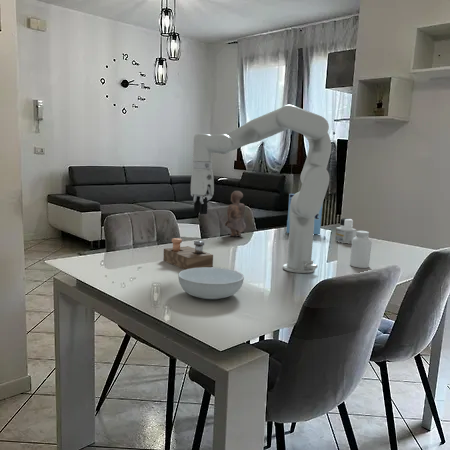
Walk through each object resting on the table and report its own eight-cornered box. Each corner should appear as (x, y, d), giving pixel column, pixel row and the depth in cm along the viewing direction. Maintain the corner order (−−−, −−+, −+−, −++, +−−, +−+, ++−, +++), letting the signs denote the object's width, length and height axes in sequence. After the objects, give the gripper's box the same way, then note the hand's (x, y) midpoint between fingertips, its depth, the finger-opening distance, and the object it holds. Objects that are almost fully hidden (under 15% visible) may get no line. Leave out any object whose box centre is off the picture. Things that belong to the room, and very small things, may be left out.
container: (334, 241, 255) (336, 217, 253) (345, 240, 258) (348, 217, 256) (343, 243, 248) (346, 219, 246) (355, 243, 251) (357, 219, 249)
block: (212, 267, 184) (213, 254, 183) (187, 270, 177) (187, 257, 176) (187, 257, 198) (188, 246, 197) (163, 260, 191) (163, 248, 190)
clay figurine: (236, 233, 262) (238, 189, 259) (250, 236, 256) (252, 191, 252) (220, 235, 253) (223, 190, 249) (234, 238, 246) (237, 191, 242)
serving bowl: (240, 287, 159) (241, 267, 158) (245, 307, 138) (246, 284, 137) (179, 284, 158) (180, 265, 157) (175, 304, 137) (175, 282, 136)
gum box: (286, 233, 272) (289, 194, 269) (286, 231, 277) (289, 193, 274) (320, 235, 271) (323, 196, 267) (319, 233, 276) (322, 195, 272)
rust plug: (183, 252, 188) (183, 239, 187) (174, 253, 185) (175, 240, 184) (178, 250, 191) (178, 238, 190) (169, 251, 188) (169, 238, 187)
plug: (205, 255, 185) (206, 242, 184) (197, 256, 182) (197, 243, 181) (200, 253, 188) (200, 240, 187) (191, 253, 185) (192, 241, 185)
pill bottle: (356, 268, 193) (359, 233, 191) (346, 264, 201) (349, 229, 199) (372, 268, 195) (376, 233, 193) (362, 263, 203) (365, 229, 201)
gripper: (222, 167, 175) (220, 215, 178) (198, 165, 188) (196, 210, 191) (206, 167, 171) (204, 216, 174) (182, 165, 184) (181, 210, 187)
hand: (200, 212), depth 182 cm, fingers open, 3 cm apart
